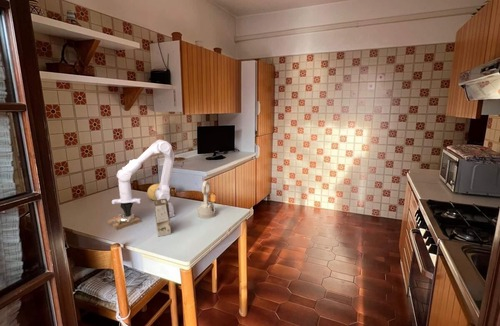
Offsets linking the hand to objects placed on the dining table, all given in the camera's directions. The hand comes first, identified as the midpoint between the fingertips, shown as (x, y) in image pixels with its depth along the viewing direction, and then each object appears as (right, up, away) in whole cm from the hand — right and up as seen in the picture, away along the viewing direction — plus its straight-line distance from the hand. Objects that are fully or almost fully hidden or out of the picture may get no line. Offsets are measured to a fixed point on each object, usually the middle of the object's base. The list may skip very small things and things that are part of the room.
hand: (128, 215), depth 144 cm
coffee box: (+22, -7, -9) cm, 25 cm away
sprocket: (-3, -2, +2) cm, 5 cm away
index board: (-3, -4, +3) cm, 6 cm away
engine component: (+41, -2, +12) cm, 42 cm away
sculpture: (+2, +4, +40) cm, 40 cm away
